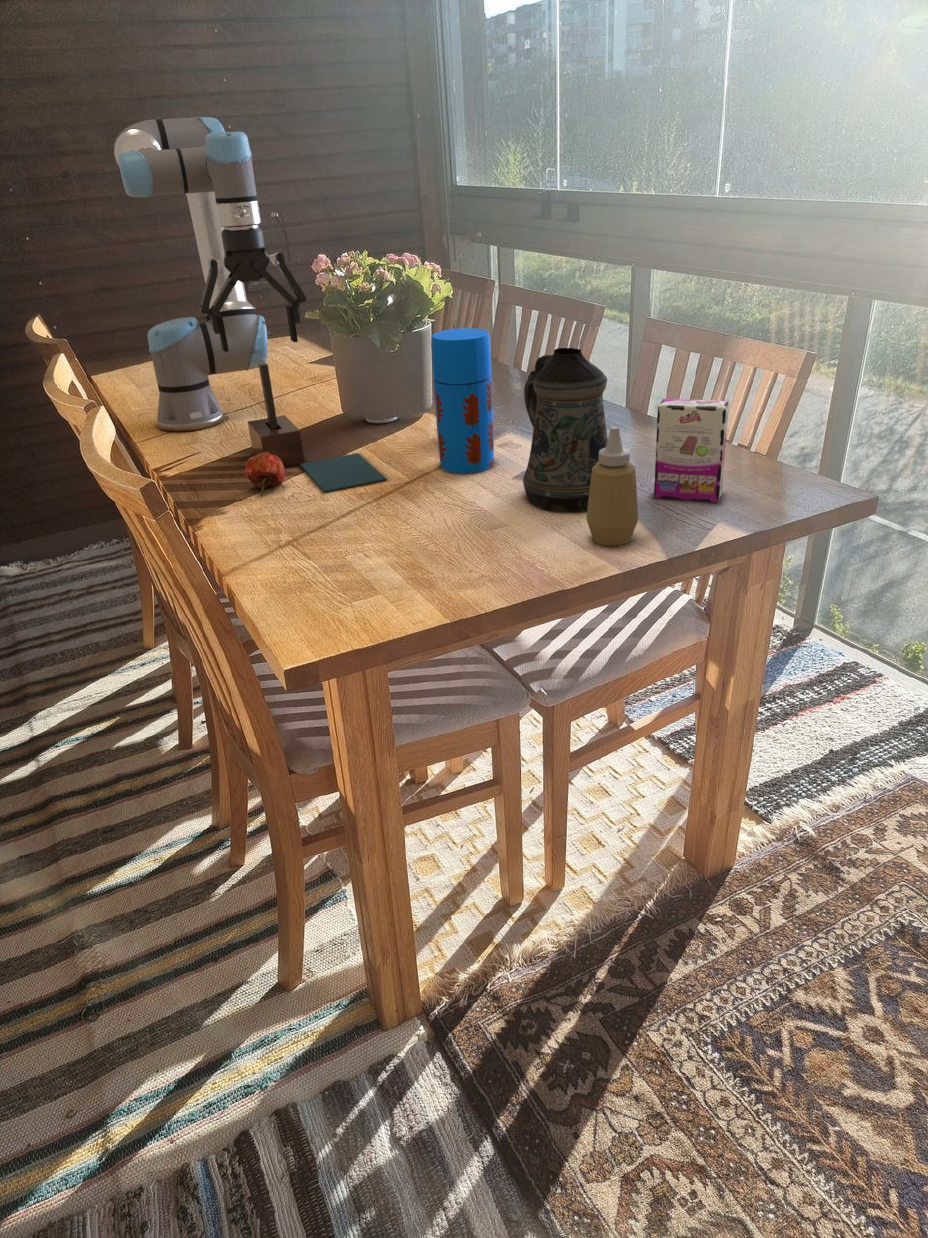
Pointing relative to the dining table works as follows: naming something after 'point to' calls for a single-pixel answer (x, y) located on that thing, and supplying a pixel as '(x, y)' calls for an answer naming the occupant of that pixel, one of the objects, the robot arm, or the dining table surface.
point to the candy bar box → (690, 449)
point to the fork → (268, 395)
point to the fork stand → (277, 440)
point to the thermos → (463, 399)
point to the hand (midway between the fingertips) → (260, 345)
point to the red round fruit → (265, 470)
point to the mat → (342, 472)
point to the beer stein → (564, 430)
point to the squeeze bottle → (613, 494)
